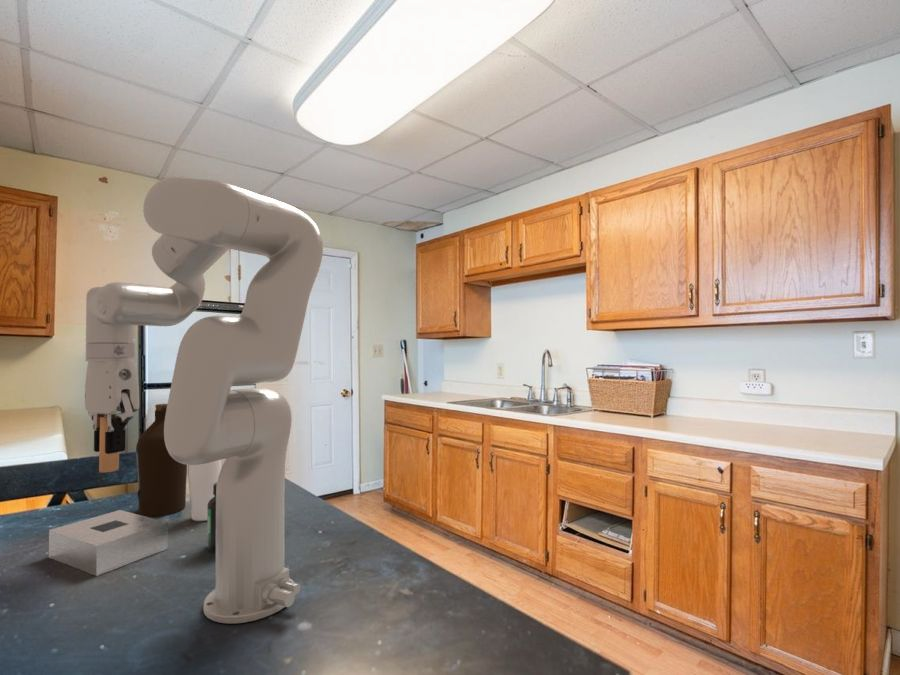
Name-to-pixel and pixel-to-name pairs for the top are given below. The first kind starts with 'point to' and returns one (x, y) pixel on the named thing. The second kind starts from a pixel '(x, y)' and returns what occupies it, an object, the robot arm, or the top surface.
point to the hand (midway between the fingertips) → (109, 450)
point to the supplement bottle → (211, 522)
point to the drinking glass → (202, 487)
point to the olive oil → (159, 472)
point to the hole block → (107, 541)
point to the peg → (105, 460)
